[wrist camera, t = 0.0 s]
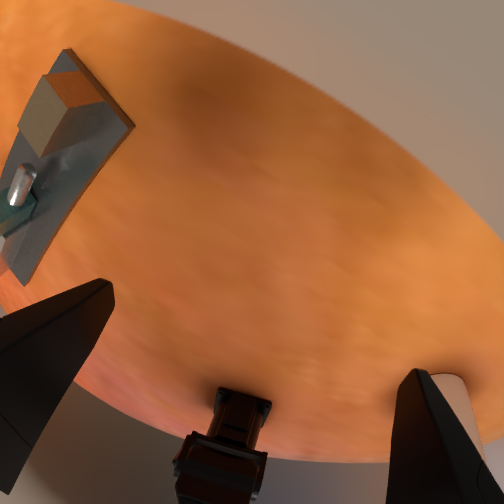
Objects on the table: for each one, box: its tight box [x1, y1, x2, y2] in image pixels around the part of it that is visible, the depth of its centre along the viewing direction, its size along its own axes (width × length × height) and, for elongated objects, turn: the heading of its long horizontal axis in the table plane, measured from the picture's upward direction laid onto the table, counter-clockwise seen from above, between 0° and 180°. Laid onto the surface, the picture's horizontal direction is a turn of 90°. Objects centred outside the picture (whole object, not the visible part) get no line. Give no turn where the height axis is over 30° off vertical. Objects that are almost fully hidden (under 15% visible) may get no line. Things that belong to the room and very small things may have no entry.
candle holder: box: [430, 374, 486, 464], centre depth 23 cm, size 10×10×12 cm
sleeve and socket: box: [0, 49, 136, 287], centre depth 25 cm, size 29×10×5 cm, turn 130°
